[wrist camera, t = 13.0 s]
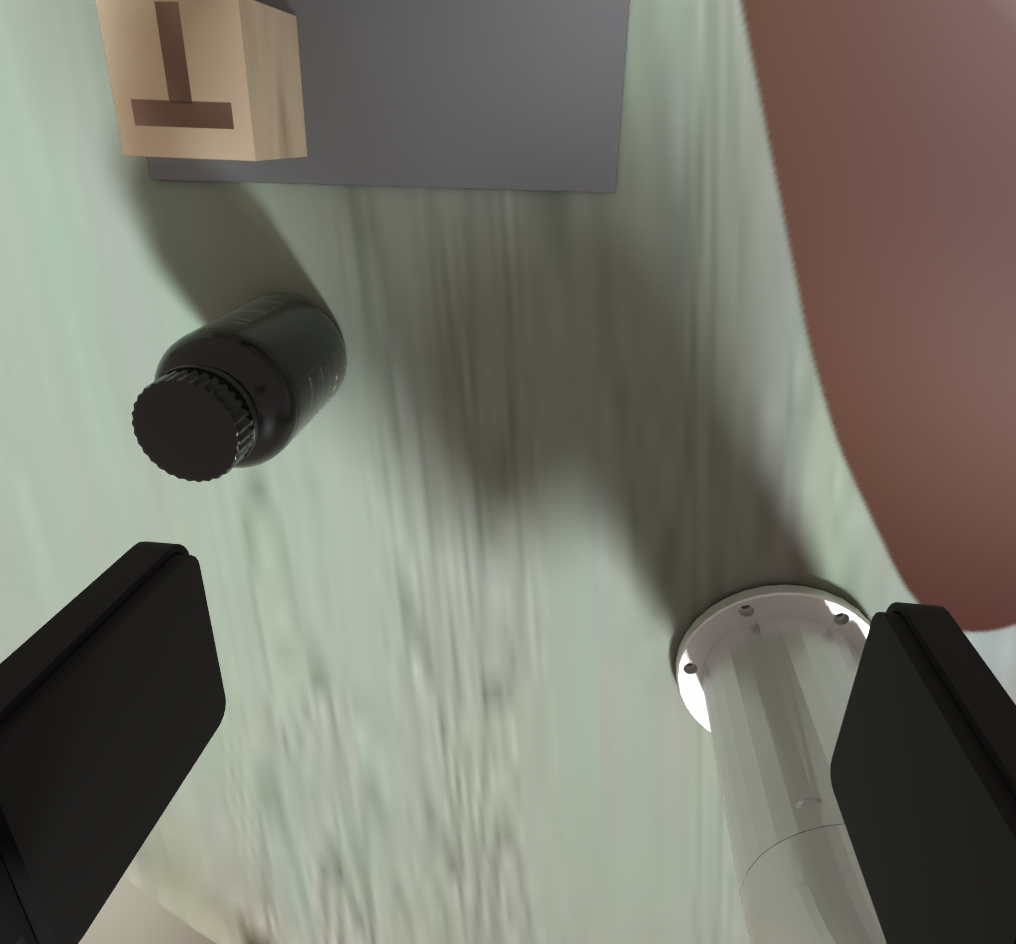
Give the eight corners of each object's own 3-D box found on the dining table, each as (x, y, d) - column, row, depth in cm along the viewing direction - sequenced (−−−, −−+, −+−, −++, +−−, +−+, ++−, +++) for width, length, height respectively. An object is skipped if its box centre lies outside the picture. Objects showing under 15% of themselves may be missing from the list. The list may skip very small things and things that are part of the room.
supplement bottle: (223, 380, 42) (94, 466, 32) (248, 271, 39) (115, 324, 29) (333, 426, 43) (242, 525, 32) (366, 321, 40) (278, 392, 29)
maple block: (93, -9, 29) (173, 13, 34) (123, 155, 31) (193, 151, 37) (237, -7, 28) (296, 16, 34) (255, 161, 31) (307, 156, 36)
